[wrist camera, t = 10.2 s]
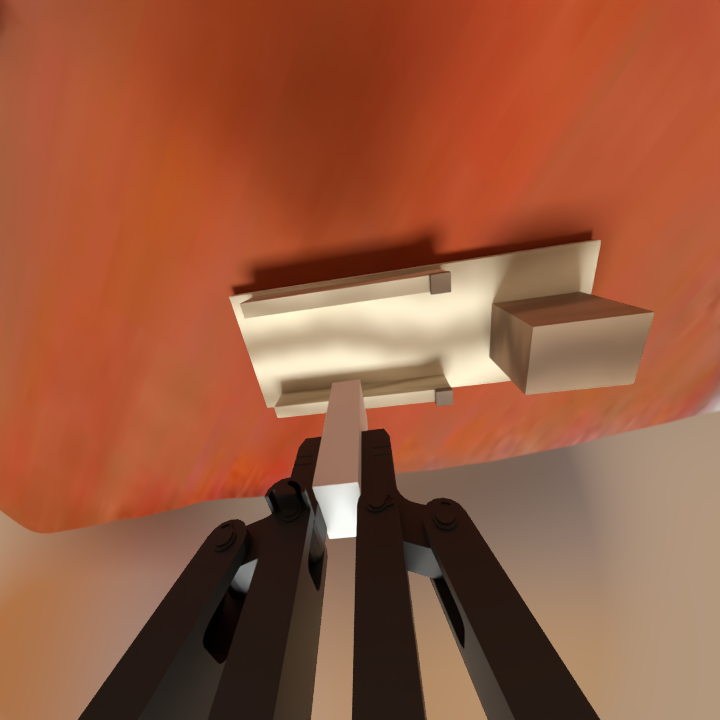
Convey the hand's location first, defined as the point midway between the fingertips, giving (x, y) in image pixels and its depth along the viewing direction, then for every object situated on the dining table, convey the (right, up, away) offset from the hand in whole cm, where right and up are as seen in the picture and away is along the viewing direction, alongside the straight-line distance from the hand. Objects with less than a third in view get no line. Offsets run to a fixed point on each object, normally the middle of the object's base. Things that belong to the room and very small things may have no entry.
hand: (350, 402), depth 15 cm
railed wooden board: (+5, +5, +10) cm, 13 cm away
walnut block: (+15, +5, +9) cm, 19 cm away
